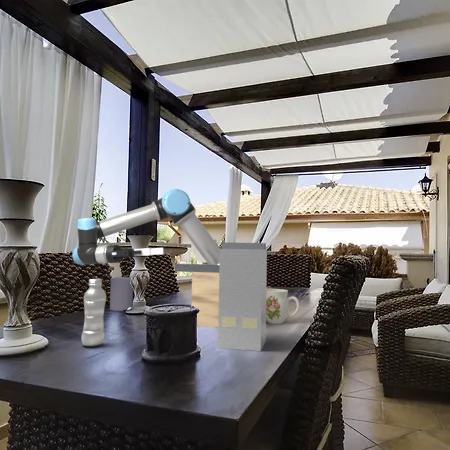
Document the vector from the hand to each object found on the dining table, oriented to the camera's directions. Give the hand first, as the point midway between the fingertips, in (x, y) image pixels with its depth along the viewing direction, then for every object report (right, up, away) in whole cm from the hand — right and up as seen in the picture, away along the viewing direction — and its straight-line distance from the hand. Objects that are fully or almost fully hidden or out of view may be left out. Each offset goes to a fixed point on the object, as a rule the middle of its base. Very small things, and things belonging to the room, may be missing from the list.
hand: (157, 251), depth 153 cm
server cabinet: (+33, -27, -33) cm, 54 cm away
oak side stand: (+24, -29, -4) cm, 38 cm away
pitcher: (+49, -30, +3) cm, 58 cm away
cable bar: (+19, -8, -1) cm, 21 cm away
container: (-22, -30, +27) cm, 46 cm away
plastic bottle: (-13, -26, -38) cm, 48 cm away
